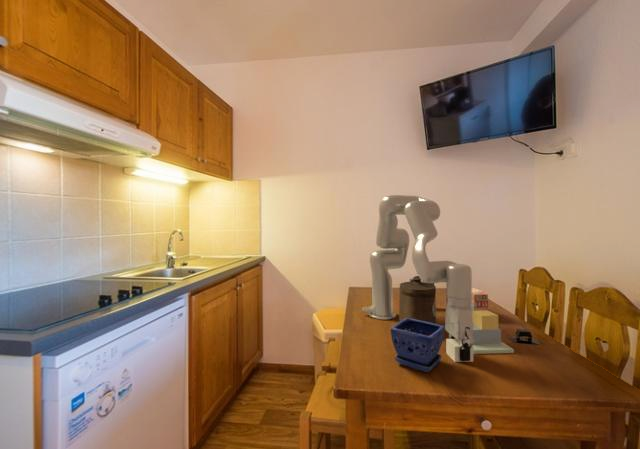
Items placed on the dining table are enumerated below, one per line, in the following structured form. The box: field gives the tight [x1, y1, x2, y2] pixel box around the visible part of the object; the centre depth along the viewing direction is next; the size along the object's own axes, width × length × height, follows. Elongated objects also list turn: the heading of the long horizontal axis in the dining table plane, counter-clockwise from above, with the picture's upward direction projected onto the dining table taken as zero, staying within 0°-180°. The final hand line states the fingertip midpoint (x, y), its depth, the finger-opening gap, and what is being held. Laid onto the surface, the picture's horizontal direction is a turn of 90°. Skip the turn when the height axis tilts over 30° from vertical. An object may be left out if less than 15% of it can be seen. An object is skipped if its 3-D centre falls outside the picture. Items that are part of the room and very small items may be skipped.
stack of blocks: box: [471, 287, 489, 320], centre depth 139 cm, size 21×6×12 cm, turn 0°
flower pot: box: [390, 318, 445, 373], centre depth 91 cm, size 13×13×12 cm
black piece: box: [506, 328, 542, 346], centre depth 106 cm, size 12×7×5 cm, turn 75°
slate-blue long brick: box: [463, 324, 502, 344], centre depth 105 cm, size 12×6×5 cm, turn 92°
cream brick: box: [445, 338, 474, 363], centre depth 95 cm, size 6×6×5 cm
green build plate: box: [472, 341, 515, 355], centre depth 105 cm, size 14×16×1 cm
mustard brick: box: [472, 309, 499, 330], centre depth 105 cm, size 6×6×5 cm
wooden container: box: [398, 275, 437, 335], centre depth 121 cm, size 15×15×22 cm
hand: (459, 355), depth 95 cm, fingers closed on cream brick, 6 cm apart
